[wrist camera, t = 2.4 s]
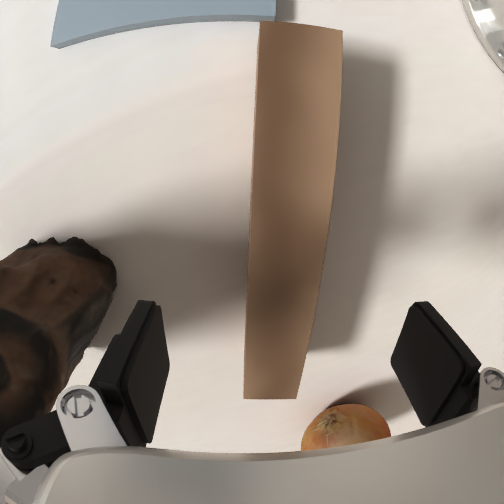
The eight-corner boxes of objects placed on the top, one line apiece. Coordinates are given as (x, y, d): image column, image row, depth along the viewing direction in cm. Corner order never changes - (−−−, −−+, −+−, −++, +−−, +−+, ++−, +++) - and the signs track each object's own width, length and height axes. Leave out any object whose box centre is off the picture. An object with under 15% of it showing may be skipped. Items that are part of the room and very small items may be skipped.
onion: (324, 440, 32) (336, 503, 23) (278, 414, 29) (285, 492, 20) (389, 406, 30) (413, 471, 20) (354, 373, 27) (381, 455, 17)
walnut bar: (318, 54, 16) (342, 30, 11) (288, 352, 25) (296, 398, 20) (257, 48, 16) (260, 20, 11) (244, 351, 25) (243, 398, 20)
